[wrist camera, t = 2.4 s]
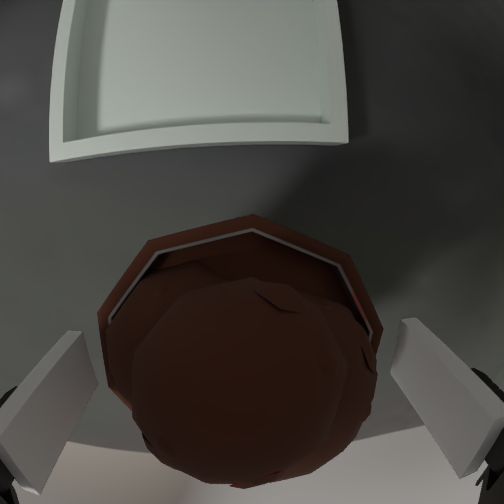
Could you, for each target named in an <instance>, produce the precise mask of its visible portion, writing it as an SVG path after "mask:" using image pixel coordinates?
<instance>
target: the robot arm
mask: <svg viewBox="0 0 504 504" xmlns="http://www.w3.org/2000/svg"><path fill="white" fill-rule="evenodd" d="M390 374H391V375H392V377H393V378H394V379H395V381H396V382H397V384H398V385H399V387H400V388H401V390H402V391H403V393H404V394H405V396H406V397H407V399H408V400H409V402H410V403H411V404H412V406H413V407H414V409H415V410H416V412H417V413H418V415H419V416H420V418H421V419H422V421H423V423H424V424H425V426H426V427H427V429H428V430H429V431H430V433H431V434H432V436H433V438H434V439H435V441H436V442H437V444H438V445H439V447H440V449H441V450H442V452H443V453H444V455H445V456H446V458H447V459H448V461H449V463H450V464H451V466H452V467H453V469H454V471H455V472H456V474H457V476H458V477H459V479H461V478H463V477H465V476H467V475H470V474H472V473H474V472H475V471H477V470H478V468H479V467H480V465H481V464H482V462H483V461H484V459H485V461H486V462H487V464H488V466H487V468H486V469H485V471H484V472H483V474H482V475H481V476H480V478H479V479H478V480H477V483H476V486H478V485H479V484H480V482H481V481H482V480H483V484H482V488H481V493H480V498H479V502H478V504H504V392H503V391H502V390H501V389H500V390H499V387H498V386H497V385H496V384H495V383H493V381H492V380H491V379H490V378H489V377H488V376H487V375H486V374H484V373H483V372H481V371H479V370H477V369H475V368H472V369H470V368H469V367H468V366H467V365H466V364H465V363H464V362H463V361H462V360H461V359H460V358H459V357H458V356H457V355H456V354H454V353H453V352H452V351H451V350H450V349H449V348H448V347H447V346H446V345H445V344H444V343H443V342H442V341H441V340H440V339H439V338H438V337H437V336H436V335H434V334H433V333H432V332H431V331H430V330H429V329H428V328H427V327H426V326H425V325H424V324H423V323H421V322H420V321H419V320H418V319H417V318H416V317H415V318H408V319H401V322H400V327H399V333H398V338H397V344H396V349H395V353H394V358H393V363H392V367H391V372H390ZM97 386H98V382H97V379H96V376H95V373H94V370H93V367H92V363H91V360H90V357H89V353H88V350H87V346H86V343H85V339H84V335H83V331H67V332H66V333H65V334H64V335H63V336H62V337H61V338H60V339H59V341H58V342H57V343H56V344H55V345H54V346H53V347H52V348H51V349H50V350H49V352H48V353H47V354H46V355H45V356H44V357H43V358H42V359H41V361H40V362H39V363H38V364H37V365H36V366H35V367H34V368H33V370H32V371H31V372H30V373H29V374H28V375H27V377H26V378H25V379H24V380H23V381H22V382H21V384H20V385H19V386H18V387H17V386H15V387H14V388H12V389H11V390H9V391H8V392H6V393H5V394H4V396H3V397H2V398H1V399H0V504H19V501H18V498H17V494H16V492H15V489H14V487H13V486H12V482H13V480H14V479H15V480H16V481H17V482H18V483H19V485H20V486H21V487H22V488H23V489H24V490H27V491H29V492H32V493H35V494H37V495H41V493H42V491H43V488H44V486H45V484H46V482H47V480H48V478H49V476H50V474H51V472H52V470H53V468H54V466H55V464H56V462H57V460H58V458H59V456H60V454H61V452H62V450H63V448H64V446H65V444H66V442H67V440H68V439H69V437H70V435H71V433H72V431H73V429H74V427H75V425H76V423H77V422H78V420H79V418H80V416H81V414H82V412H83V411H84V409H85V407H86V405H87V403H88V402H89V400H90V398H91V396H92V394H93V393H94V391H95V389H96V387H97Z"/></svg>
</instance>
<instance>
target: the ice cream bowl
mask: <svg viewBox="0 0 504 504" xmlns="http://www.w3.org/2000/svg"><path fill="white" fill-rule="evenodd" d="M97 315H98V323H99V331H100V339H101V346H102V352H103V359H104V365H105V370H106V376H107V381H108V387H109V388H110V389H111V390H112V391H113V392H114V393H115V394H116V395H117V396H118V397H119V398H120V399H121V400H122V402H123V403H124V404H125V405H126V406H127V407H128V408H129V409H130V410H131V411H132V418H133V419H134V421H135V422H136V424H137V425H138V427H139V428H140V430H141V431H142V436H143V439H144V442H145V444H146V447H147V449H148V450H149V451H150V452H151V453H152V454H153V455H154V456H155V457H156V458H157V459H159V461H160V462H162V463H163V464H165V465H167V466H169V467H171V468H173V469H176V470H179V471H182V472H184V473H186V474H188V475H190V476H192V477H194V478H196V479H198V480H200V481H203V482H205V483H209V484H232V485H230V486H231V487H236V488H242V489H245V488H250V487H255V486H258V485H262V484H266V483H271V482H276V481H281V480H285V479H290V478H294V477H298V476H302V475H306V474H310V473H312V472H313V471H315V470H316V469H318V468H320V467H321V466H322V465H324V464H325V463H327V462H328V461H330V460H331V459H333V458H334V457H335V456H337V455H338V454H339V453H341V452H343V451H344V449H345V448H346V447H347V446H348V445H349V444H350V443H351V442H352V441H353V439H354V438H355V437H356V435H357V433H358V431H359V429H360V427H361V425H362V422H364V421H365V420H366V419H367V417H368V416H369V415H370V413H371V402H372V400H373V397H374V392H375V387H376V381H377V375H378V374H377V371H376V362H377V360H376V353H377V350H378V346H379V343H380V339H381V336H382V332H383V327H382V324H381V322H380V320H379V318H378V315H377V313H376V311H375V309H374V306H373V304H372V302H371V300H370V298H369V296H368V293H367V291H366V289H365V287H364V285H363V283H362V281H361V278H360V276H359V274H358V272H357V270H356V268H355V266H354V264H353V262H352V260H351V258H350V256H349V254H346V253H344V252H342V251H340V250H337V249H335V248H333V247H330V246H328V245H326V244H324V243H321V242H319V241H317V240H314V239H312V238H310V237H307V236H305V235H303V234H300V233H298V232H296V231H293V230H291V229H289V228H286V227H284V226H282V225H279V224H277V223H274V222H272V221H270V220H267V219H265V218H263V217H260V216H258V215H255V214H251V215H247V216H243V217H239V218H235V219H230V220H226V221H222V222H218V223H214V224H210V225H206V226H202V227H198V228H194V229H190V230H186V231H182V232H178V233H174V234H171V235H167V236H163V237H159V238H155V239H152V240H148V242H147V243H146V244H145V246H144V247H143V248H142V250H141V251H140V252H139V254H138V255H137V256H136V258H135V259H134V260H133V262H132V263H131V265H130V266H129V267H128V269H127V270H126V272H125V273H124V274H123V276H122V277H121V279H120V280H119V282H118V283H117V284H116V286H115V287H114V289H113V290H112V292H111V293H110V295H109V296H108V297H107V299H106V300H105V302H104V303H103V305H102V306H101V308H100V309H99V311H98V312H97Z"/></svg>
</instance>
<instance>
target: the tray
mask: <svg viewBox="0 0 504 504" xmlns="http://www.w3.org/2000/svg"><path fill="white" fill-rule="evenodd" d="M346 143H349V138H348V112H347V94H346V80H345V67H344V56H343V46H342V37H341V28H340V20H339V12H338V5H337V0H63V5H62V9H61V14H60V20H59V25H58V31H57V38H56V45H55V52H54V60H53V70H52V81H51V95H50V118H49V154H50V162H72V161H78V160H84V159H91V158H98V157H105V156H112V155H120V154H128V153H136V152H146V151H156V150H167V149H179V148H192V147H209V146H231V145H330V146H336V145H341V144H346Z"/></svg>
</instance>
